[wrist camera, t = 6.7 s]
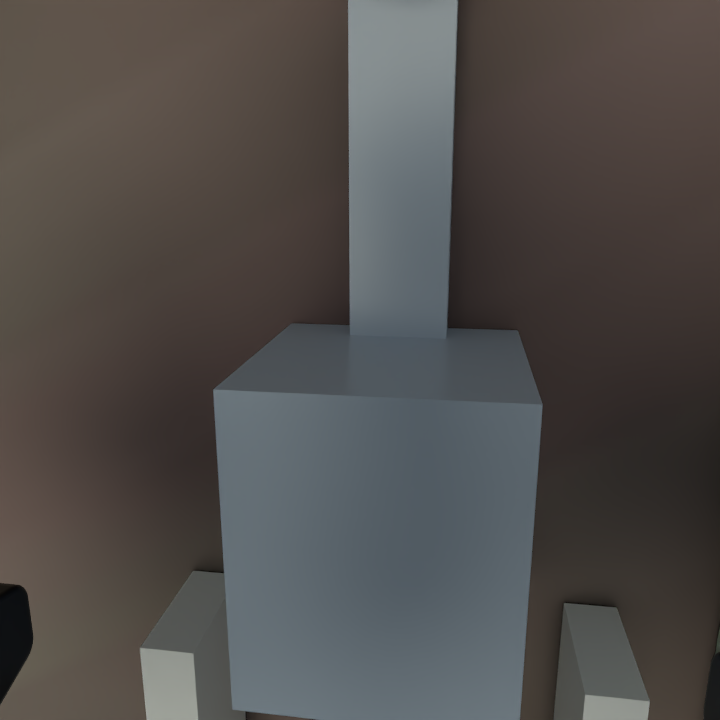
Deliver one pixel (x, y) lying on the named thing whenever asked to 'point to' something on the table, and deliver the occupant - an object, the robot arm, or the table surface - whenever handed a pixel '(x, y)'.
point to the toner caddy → (384, 441)
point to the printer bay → (215, 715)
